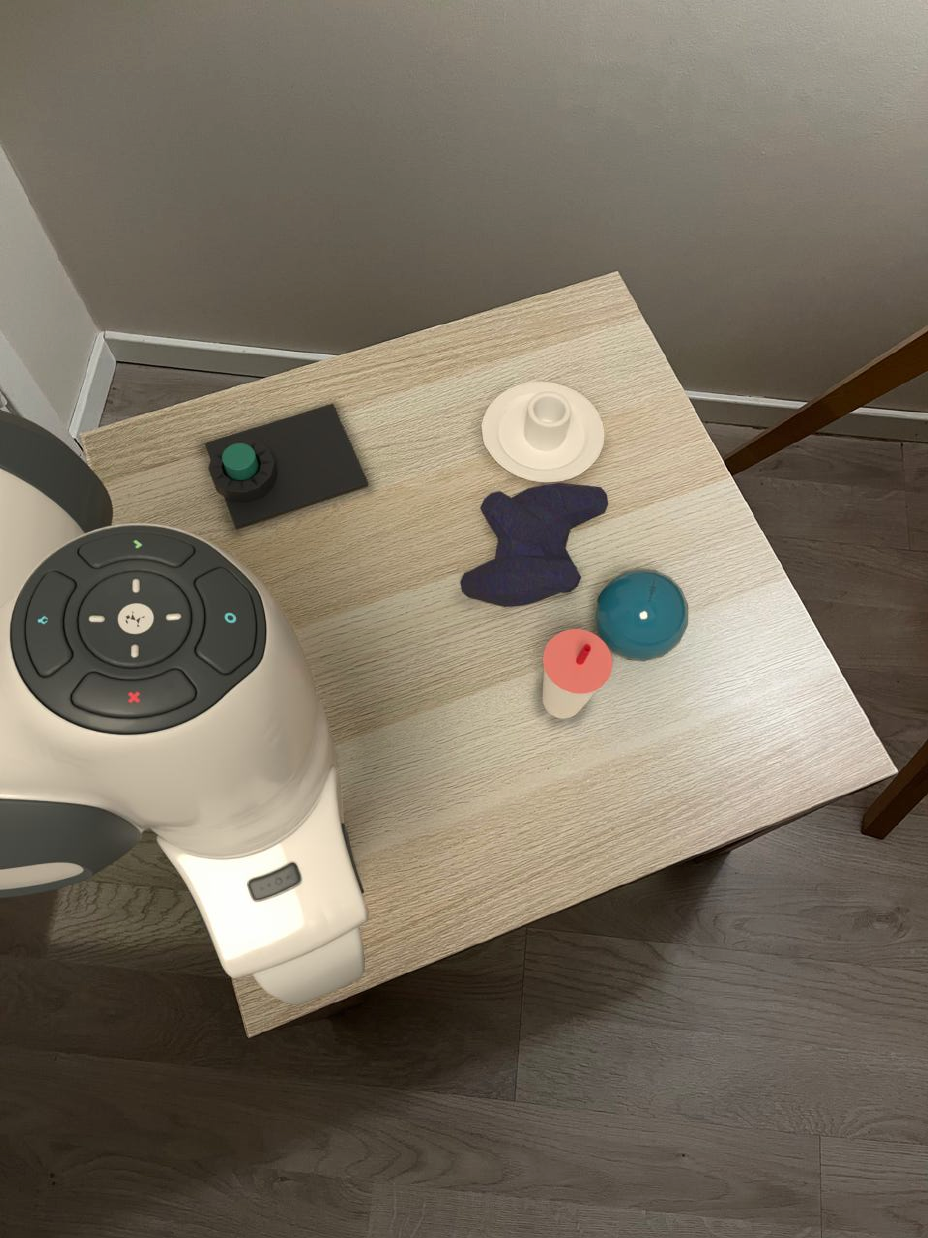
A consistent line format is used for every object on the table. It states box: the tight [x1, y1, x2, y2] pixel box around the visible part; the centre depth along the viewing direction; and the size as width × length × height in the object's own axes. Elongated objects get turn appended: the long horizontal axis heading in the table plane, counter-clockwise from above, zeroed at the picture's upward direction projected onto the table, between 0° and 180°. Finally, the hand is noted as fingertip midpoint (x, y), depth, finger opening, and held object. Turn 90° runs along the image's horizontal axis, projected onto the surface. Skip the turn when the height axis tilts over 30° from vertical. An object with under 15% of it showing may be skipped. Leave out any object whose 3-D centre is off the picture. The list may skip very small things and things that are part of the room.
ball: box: [593, 567, 689, 663], centre depth 77 cm, size 8×8×8 cm
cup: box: [542, 628, 613, 720], centre depth 72 cm, size 5×5×12 cm
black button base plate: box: [204, 403, 369, 530], centre depth 86 cm, size 13×10×2 cm
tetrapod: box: [459, 482, 609, 608], centre depth 78 cm, size 11×12×11 cm
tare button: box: [222, 443, 258, 480], centre depth 83 cm, size 3×3×2 cm
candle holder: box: [480, 381, 605, 483], centre depth 87 cm, size 12×12×4 cm
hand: (282, 827), depth 54 cm, fingers closed
